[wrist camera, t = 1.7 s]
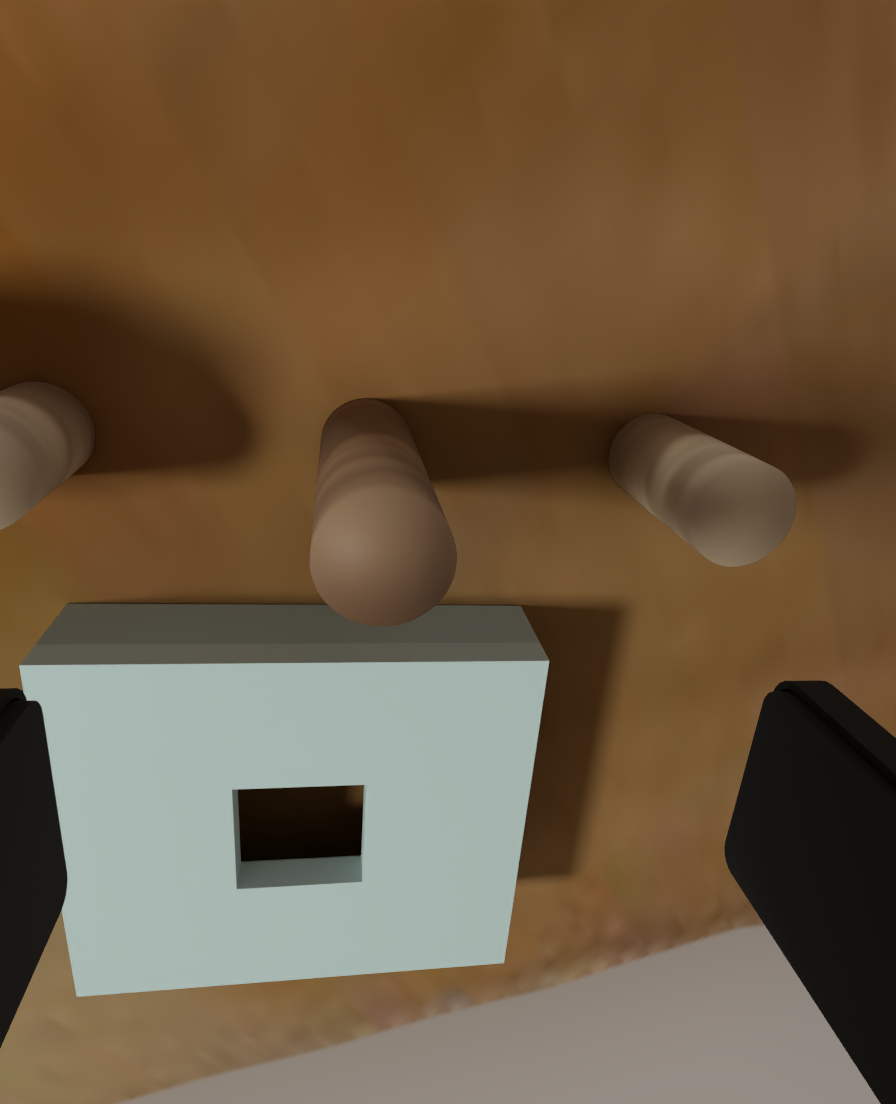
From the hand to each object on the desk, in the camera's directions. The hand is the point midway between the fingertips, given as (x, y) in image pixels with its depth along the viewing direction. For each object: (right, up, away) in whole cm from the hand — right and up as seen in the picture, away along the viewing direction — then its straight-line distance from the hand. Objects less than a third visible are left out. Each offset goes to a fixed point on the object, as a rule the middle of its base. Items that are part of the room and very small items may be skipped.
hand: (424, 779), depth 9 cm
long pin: (-2, +7, +14) cm, 16 cm away
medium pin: (+7, +6, +16) cm, 19 cm away
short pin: (-12, +7, +13) cm, 19 cm away
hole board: (-5, -5, +19) cm, 20 cm away
